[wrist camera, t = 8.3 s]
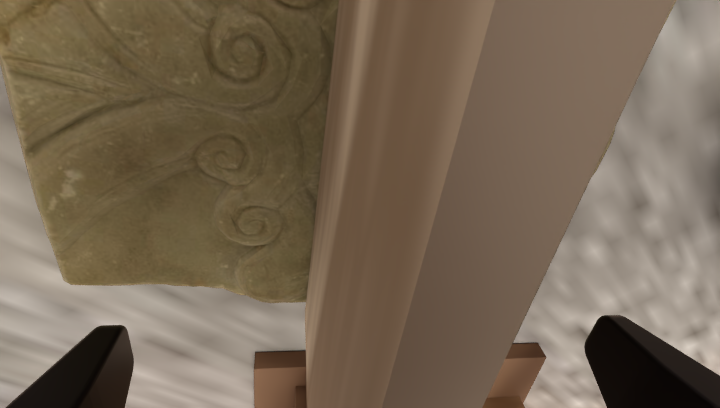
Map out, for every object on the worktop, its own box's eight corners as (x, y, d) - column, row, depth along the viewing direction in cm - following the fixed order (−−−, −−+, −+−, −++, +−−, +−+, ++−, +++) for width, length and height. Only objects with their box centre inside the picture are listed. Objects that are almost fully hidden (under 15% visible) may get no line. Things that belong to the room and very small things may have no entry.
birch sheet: (398, -97, 11) (760, -182, 2) (334, 312, 18) (367, 650, 10) (350, -106, 11) (560, -236, 2) (304, 311, 18) (312, 656, 9)
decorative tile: (-50, -354, 10) (-195, -476, 7) (681, -154, 14) (789, -176, 11) (83, 273, 19) (45, 336, 16) (495, 285, 23) (526, 338, 20)
